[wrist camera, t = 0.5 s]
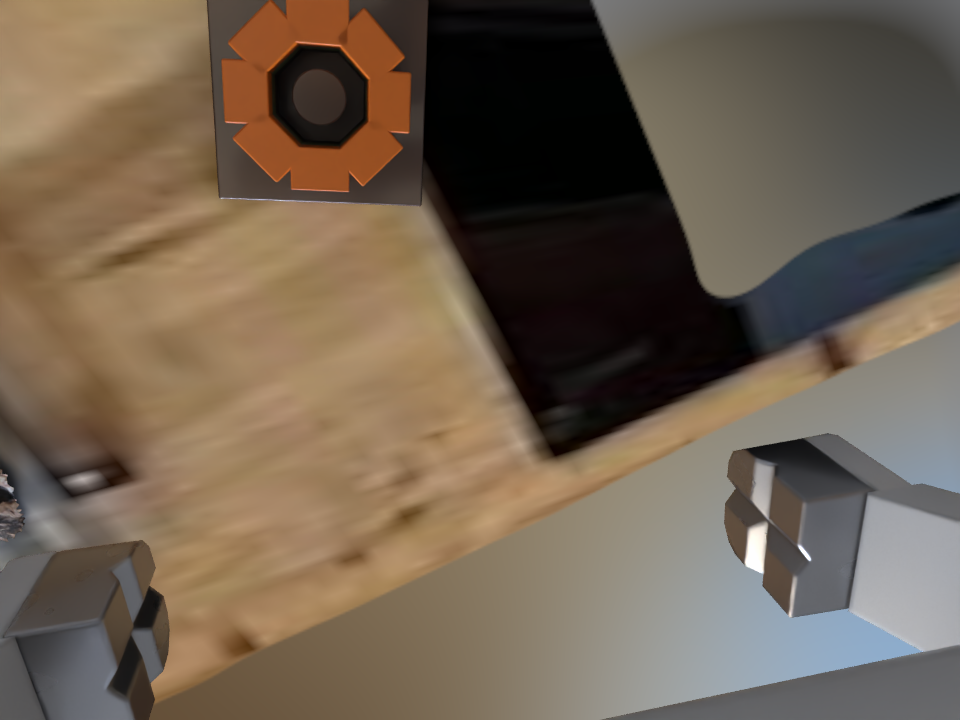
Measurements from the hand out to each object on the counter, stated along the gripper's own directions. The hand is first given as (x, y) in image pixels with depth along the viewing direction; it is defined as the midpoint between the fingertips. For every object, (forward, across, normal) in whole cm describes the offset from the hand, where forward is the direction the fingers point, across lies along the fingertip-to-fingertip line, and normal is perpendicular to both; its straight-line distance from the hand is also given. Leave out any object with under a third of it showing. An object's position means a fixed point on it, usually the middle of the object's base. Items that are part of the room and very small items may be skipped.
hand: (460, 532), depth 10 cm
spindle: (+26, +2, -6) cm, 27 cm away
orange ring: (+22, +2, -6) cm, 23 cm away
